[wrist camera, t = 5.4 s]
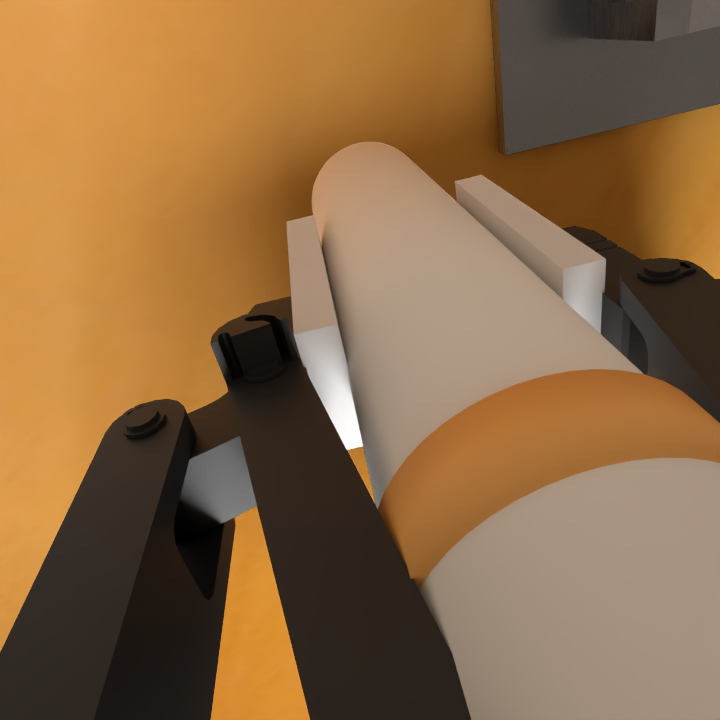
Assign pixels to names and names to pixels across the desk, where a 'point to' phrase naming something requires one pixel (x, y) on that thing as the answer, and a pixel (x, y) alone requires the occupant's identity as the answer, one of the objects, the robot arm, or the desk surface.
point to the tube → (522, 462)
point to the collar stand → (599, 65)
